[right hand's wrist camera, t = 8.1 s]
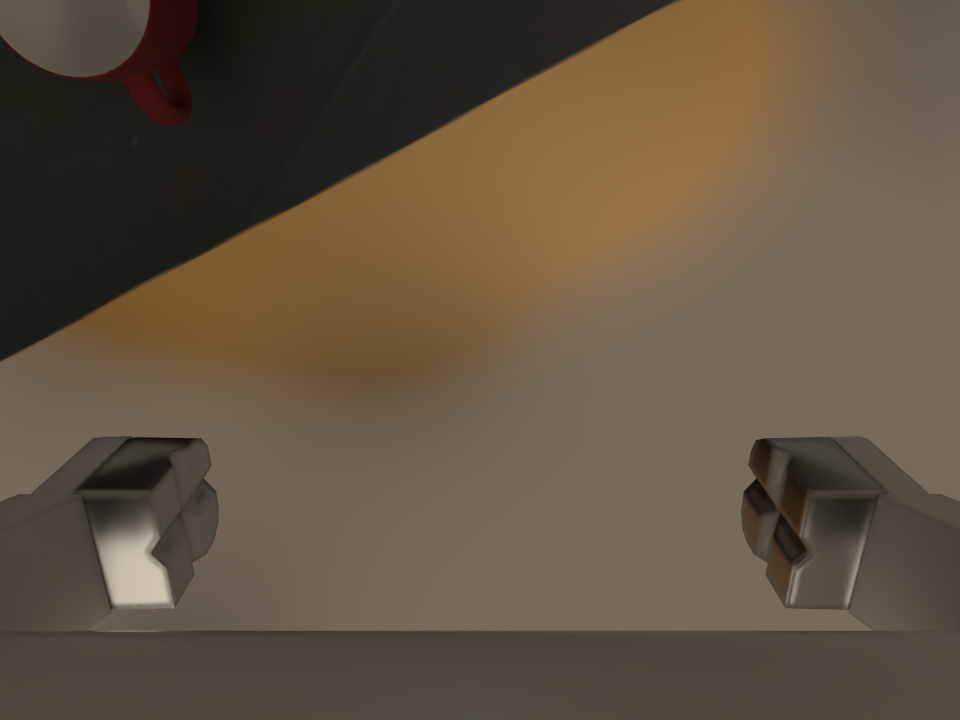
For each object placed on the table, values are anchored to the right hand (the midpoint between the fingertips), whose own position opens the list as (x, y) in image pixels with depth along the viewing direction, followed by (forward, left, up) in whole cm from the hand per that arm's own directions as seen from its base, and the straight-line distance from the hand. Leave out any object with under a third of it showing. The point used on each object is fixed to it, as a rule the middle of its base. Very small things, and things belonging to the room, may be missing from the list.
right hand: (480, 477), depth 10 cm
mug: (+15, -13, -36) cm, 41 cm away
